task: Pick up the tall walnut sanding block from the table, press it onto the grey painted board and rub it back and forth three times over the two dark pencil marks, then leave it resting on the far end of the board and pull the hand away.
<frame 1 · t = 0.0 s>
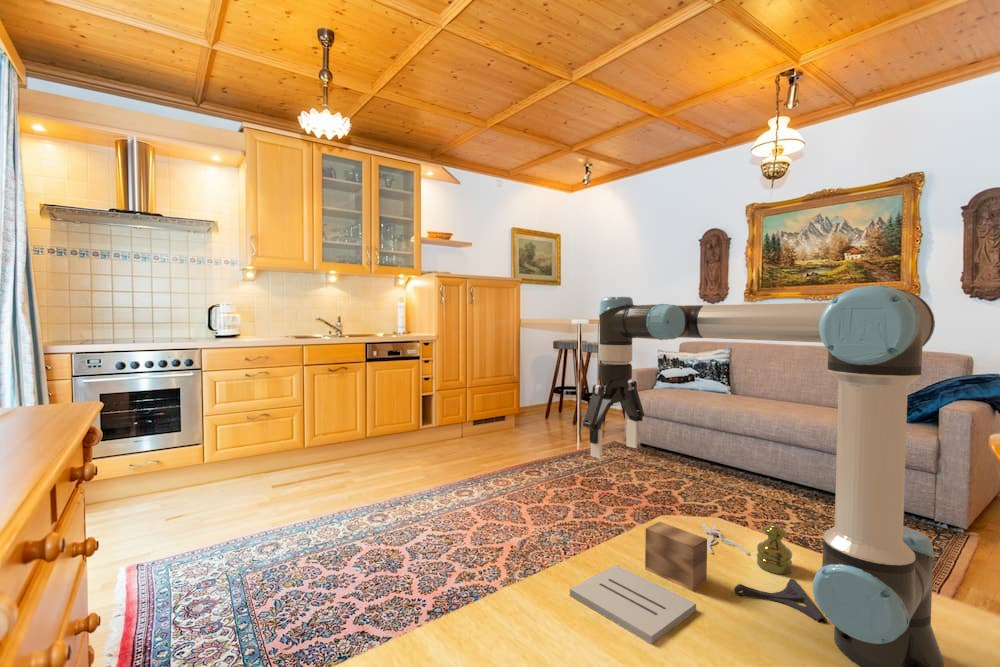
hand: (614, 451, 114), 28 cm above the table, tool pointing down, fingers open, 13 cm apart
sanding block: (675, 575, 112), on the table
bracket: (772, 601, 103), on the table
pliers: (718, 542, 130), on the table
board: (631, 602, 101), on the table
brass door knob: (774, 567, 116), on the table
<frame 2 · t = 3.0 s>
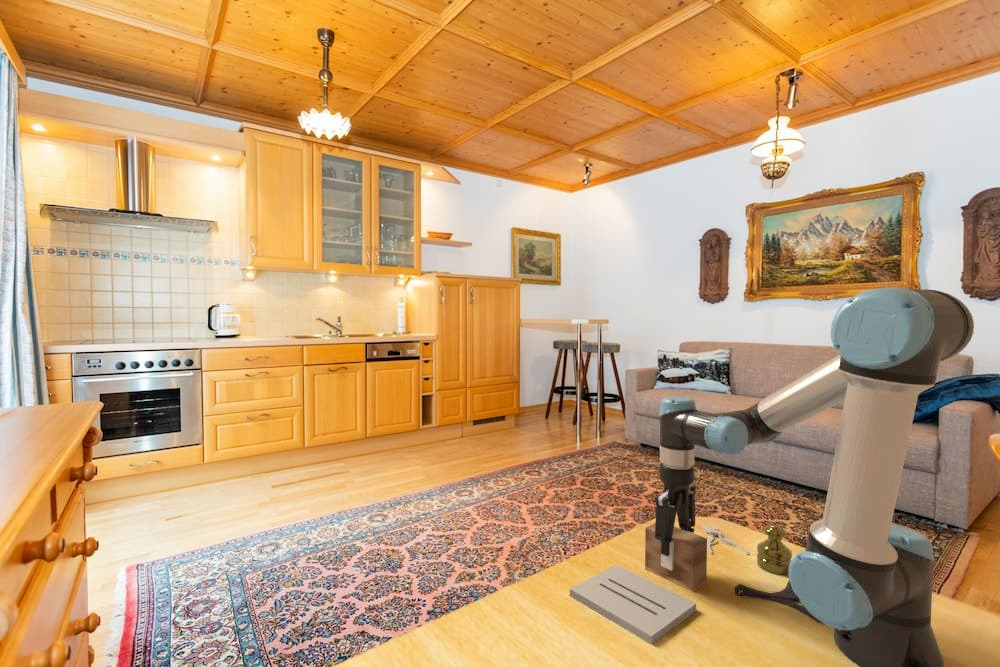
hand: (675, 562, 112), 3 cm above the table, tool pointing down, fingers closed on sanding block, 6 cm apart
sanding block: (674, 575, 112), on the table, touching gripper
everything else where it was.
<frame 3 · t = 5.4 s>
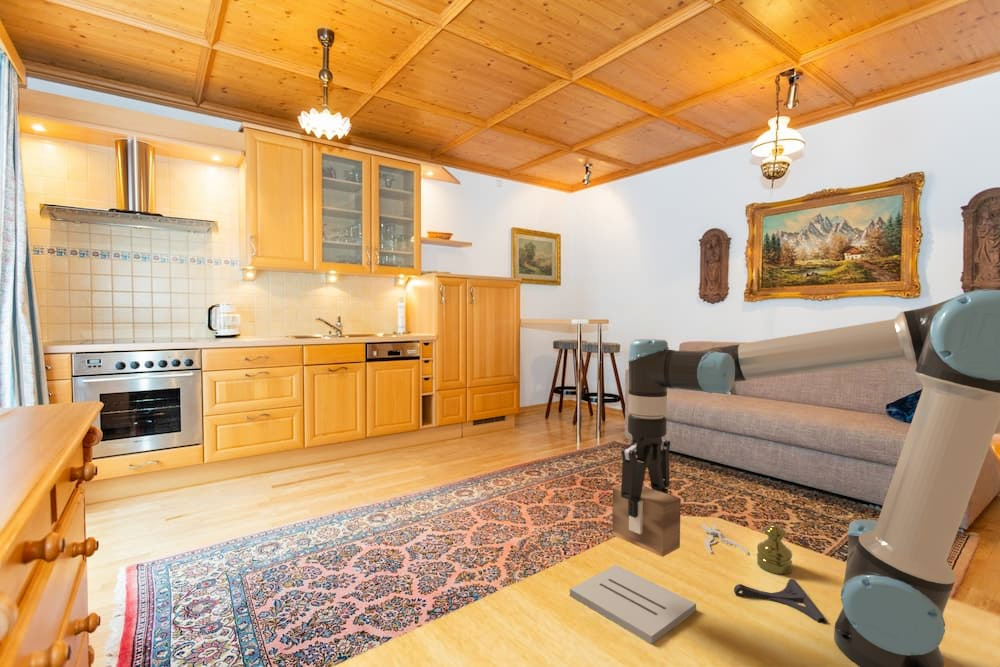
hand: (645, 526, 99), 17 cm above the table, tool pointing down, fingers closed on sanding block, 6 cm apart
sanding block: (645, 541, 99), point 14 cm above the table, touching gripper
everything else where it was.
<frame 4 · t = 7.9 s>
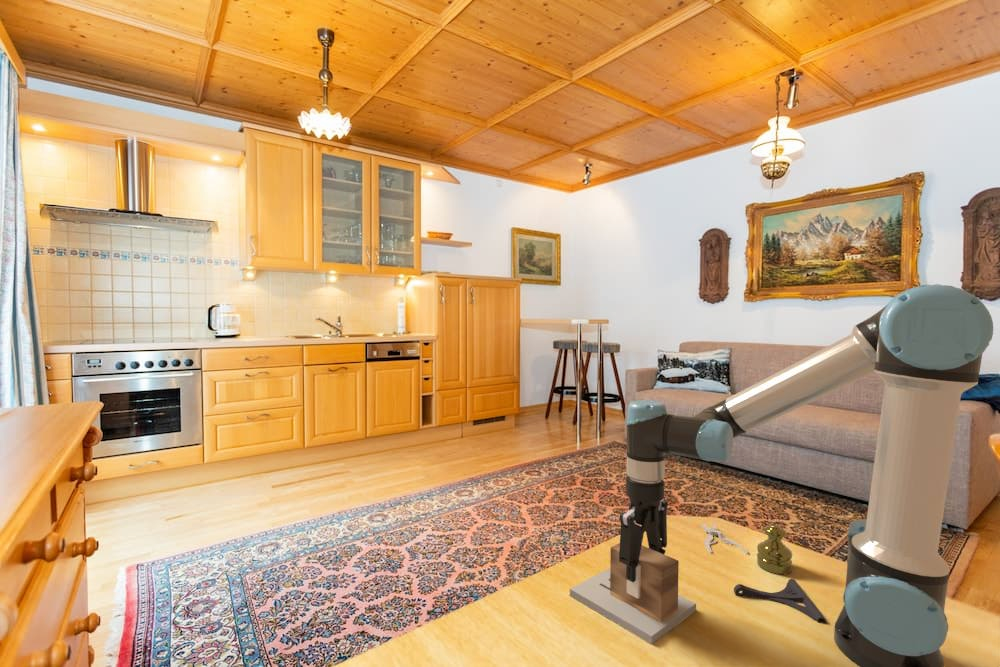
hand: (643, 588, 99), 4 cm above the table, tool pointing down, fingers closed on sanding block, 6 cm apart
sanding block: (643, 601, 99), point 2 cm above the table, touching board, gripper
everything else where it was.
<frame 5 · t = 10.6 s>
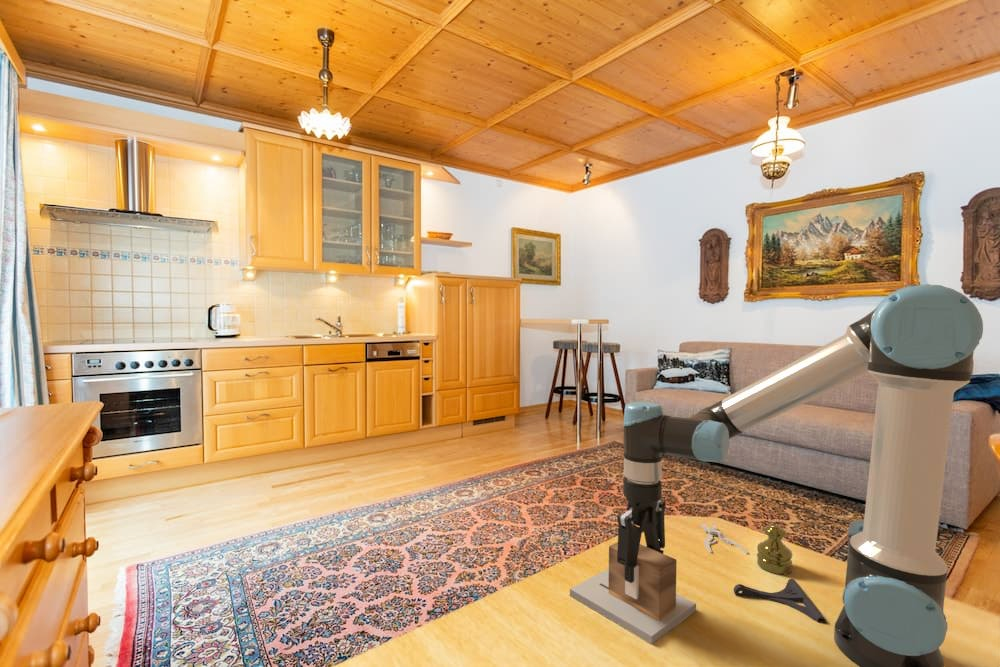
hand: (641, 589, 99), 4 cm above the table, tool pointing down, fingers closed on sanding block, 6 cm apart
sanding block: (641, 600, 99), point 2 cm above the table, touching gripper
everything else where it was.
when the fingers open (5 cm above the table, at t = 13.0 s): sanding block drops 1 cm, resting on board.
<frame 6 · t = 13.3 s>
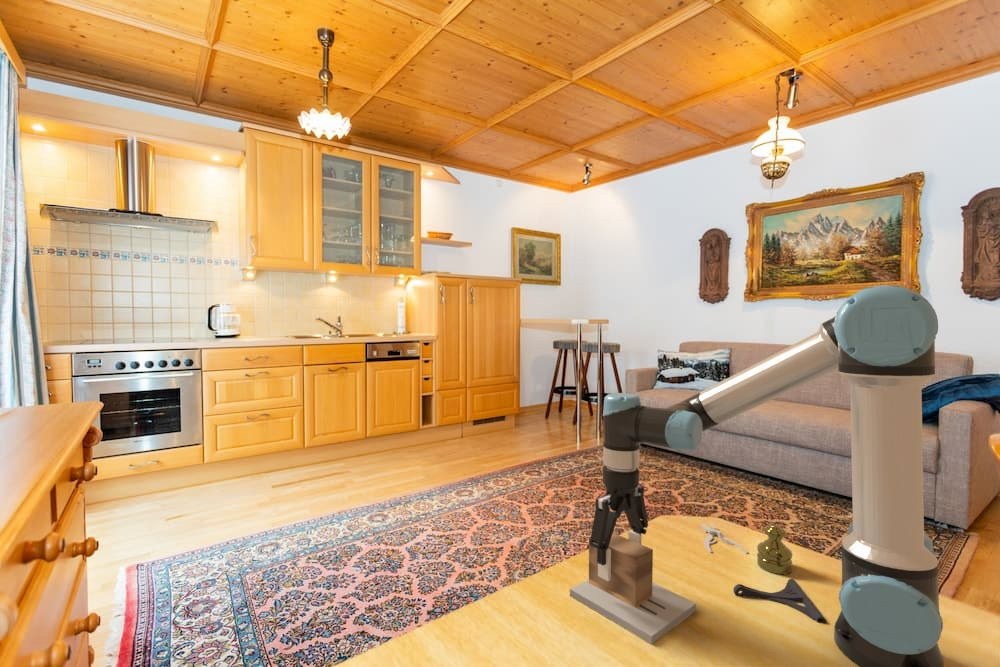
hand: (619, 569, 103), 6 cm above the table, tool pointing down, fingers open, 10 cm apart
sanding block: (619, 589, 104), point 2 cm above the table, touching board
everything else where it was.
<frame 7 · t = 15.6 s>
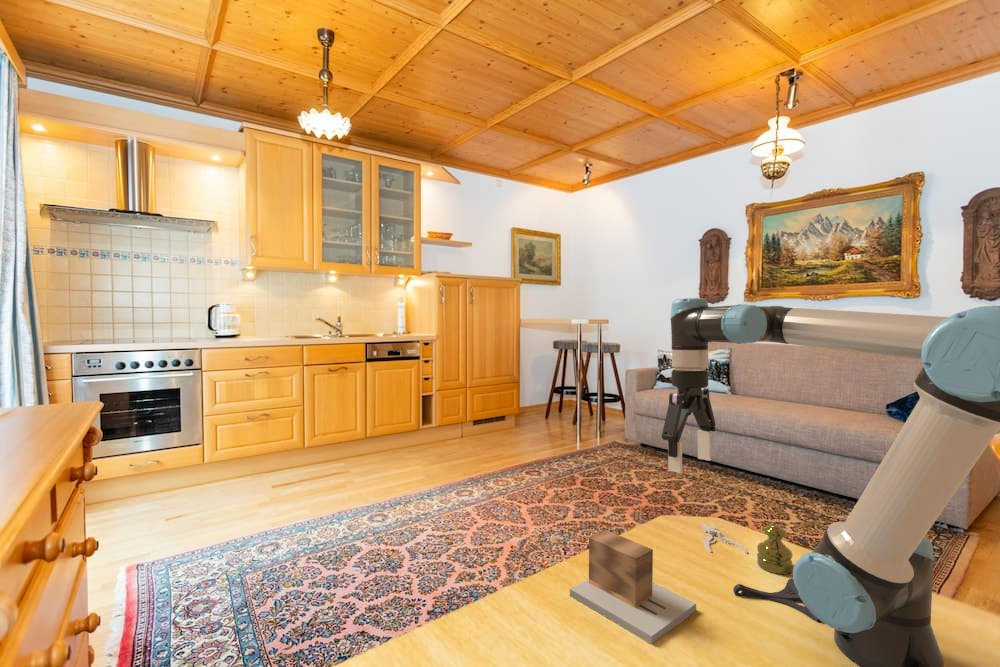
hand: (690, 465, 106), 27 cm above the table, tool pointing down, fingers open, 13 cm apart
nothing on the table moved.
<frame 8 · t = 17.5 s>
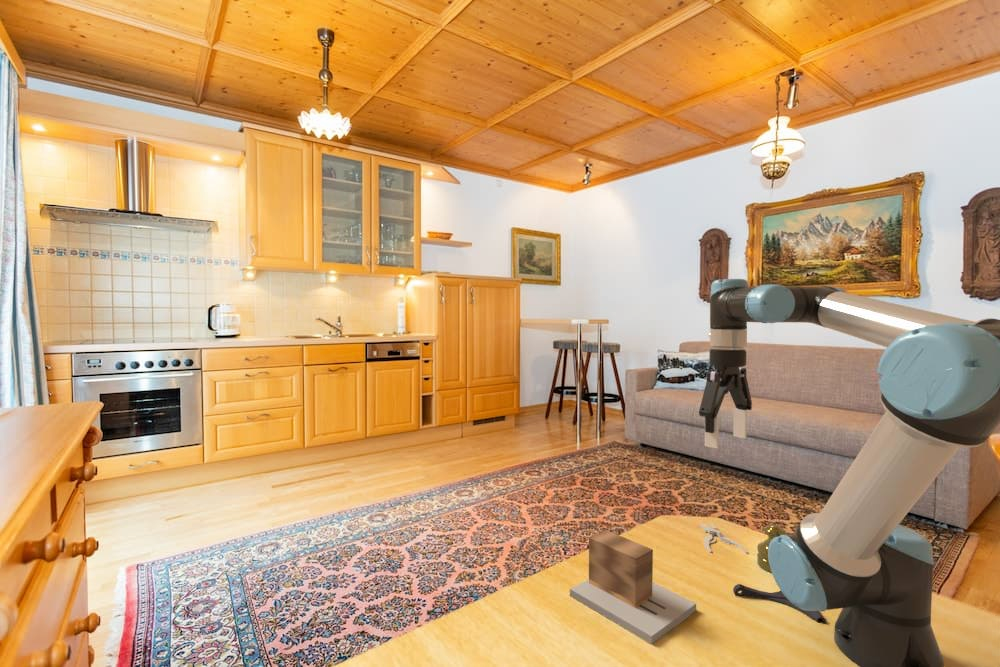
hand: (726, 442, 109), 32 cm above the table, tool pointing down, fingers open, 13 cm apart
nothing on the table moved.
at the end: sanding block inside the target area on the board (1.0 cm from its centre), point 1.6 cm above the board's base; sanding block tilted 0°; the gripper is holding nothing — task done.
